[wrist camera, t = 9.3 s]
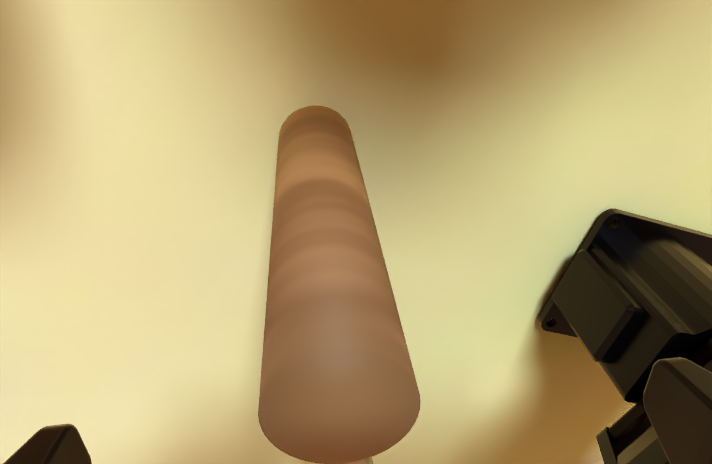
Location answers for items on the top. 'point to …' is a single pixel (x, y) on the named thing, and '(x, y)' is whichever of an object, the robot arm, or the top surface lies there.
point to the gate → (330, 307)
